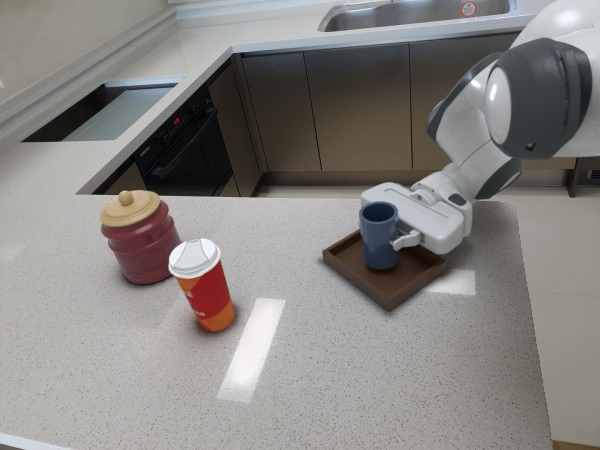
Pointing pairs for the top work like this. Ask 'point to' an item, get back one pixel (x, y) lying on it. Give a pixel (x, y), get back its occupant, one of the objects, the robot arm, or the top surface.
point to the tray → (385, 270)
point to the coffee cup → (203, 282)
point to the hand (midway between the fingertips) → (376, 235)
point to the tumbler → (379, 234)
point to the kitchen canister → (140, 235)
